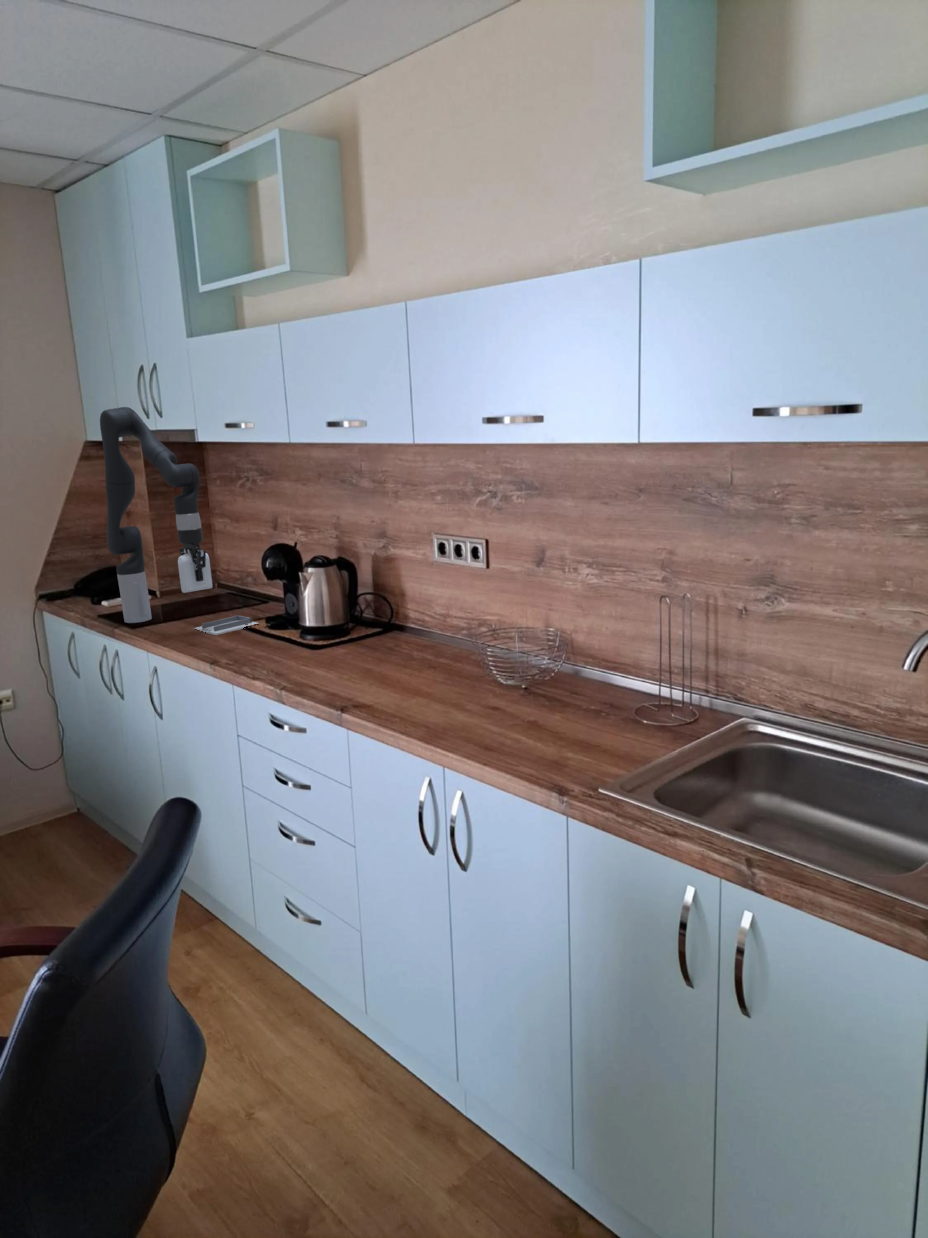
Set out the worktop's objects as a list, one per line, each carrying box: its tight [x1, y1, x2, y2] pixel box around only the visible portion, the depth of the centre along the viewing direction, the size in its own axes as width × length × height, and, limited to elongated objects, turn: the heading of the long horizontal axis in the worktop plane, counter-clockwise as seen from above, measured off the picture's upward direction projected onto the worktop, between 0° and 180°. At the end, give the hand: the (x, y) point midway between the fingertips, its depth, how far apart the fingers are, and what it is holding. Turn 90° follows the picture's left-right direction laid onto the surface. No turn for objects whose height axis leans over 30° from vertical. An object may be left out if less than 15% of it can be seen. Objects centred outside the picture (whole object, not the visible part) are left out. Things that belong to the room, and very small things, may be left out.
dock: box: [193, 615, 260, 636], centre depth 298 cm, size 14×16×2 cm
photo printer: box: [177, 552, 213, 594], centre depth 289 cm, size 10×4×12 cm, turn 132°
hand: (196, 579), depth 290 cm, fingers closed on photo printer, 4 cm apart
